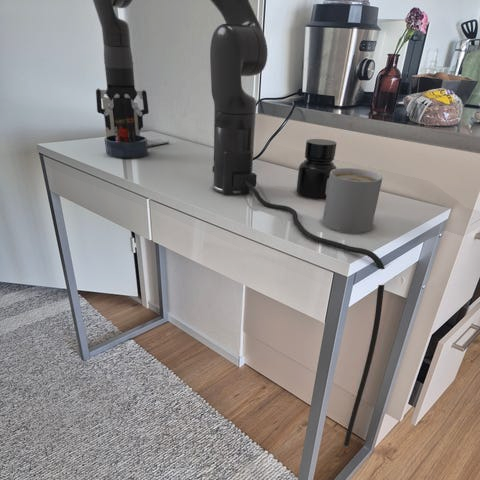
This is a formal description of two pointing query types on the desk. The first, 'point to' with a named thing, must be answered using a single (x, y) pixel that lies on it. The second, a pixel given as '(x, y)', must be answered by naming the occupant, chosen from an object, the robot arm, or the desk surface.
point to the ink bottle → (316, 168)
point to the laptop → (150, 140)
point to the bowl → (126, 147)
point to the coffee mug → (351, 200)
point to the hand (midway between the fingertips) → (124, 129)
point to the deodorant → (124, 120)
